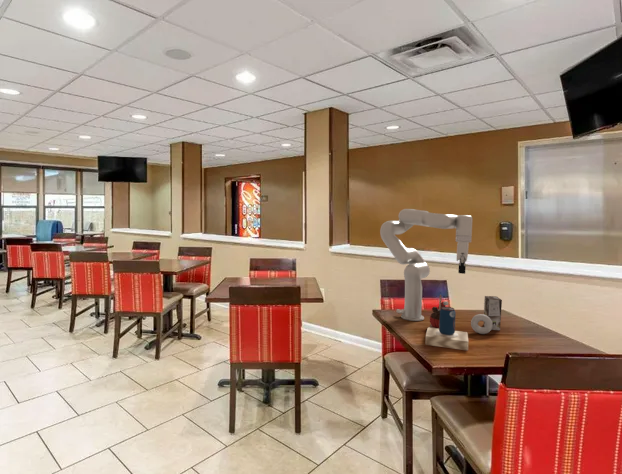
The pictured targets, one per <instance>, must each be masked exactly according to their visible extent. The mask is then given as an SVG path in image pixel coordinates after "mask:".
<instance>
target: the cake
mask: <svg viewBox="0 0 622 474" xmlns="http://www.w3.org/2000/svg"><path fill="white" fill-rule="evenodd" d="M438 302H439V303H438V304H439V305H438V307H437V306H432V308H431V311H432V313H431V314H430V317H429V323H430V325H429V328H437V329H439V319H440V310H441V307H446V306H448V305H449V302H448V301H442V294H439V300H438Z"/></svg>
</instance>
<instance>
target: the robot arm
mask: <svg viewBox="0 0 622 474" xmlns="http://www.w3.org/2000/svg"><path fill="white" fill-rule="evenodd" d="M414 226H421V227H428V228H434V229H435V228H436V229H442V230H447V229H455V242H456V243H457V244H456V245H457V246H456V261H457V262H458V274H464V275H465V274H466V267H467V266H466V262H467V261H468V254H469V247H470V245H469V243H472V236H473V235H472V234H473V217H472V215H470V214H469V215H468V214H458V215H457V214H449V213H447V214H445V213H437V212H436V213H434V212H429V211H427V210H420V209H414V208H403V209H401V210H400V211H399V213H398V220H387V221H385V222H384V223H382V224H381V226H380V230H379V233H380V238H381V240H382V241H383V243H384V244H385V246H386V248H387V249H389V251H390V254H392V256H393V257H394V259H395V260H396V262H397V263H398V264H399V265H403V266H404V265H406V267H405V268H404V271H403V277H404V278H403V279H404V305H403V306H404V307H403V308H402V309H398V308H396V313H397V314H401V316H400V317H401V319H403V320H406V321H412V322H420V321H423V320H425V317H424V315H422V307H423V305H422V304H423V301H422V300H423V284H422V279H425V278H427V277H429V275H430V272H431V271H430V267H429V265H428V263H427V262H426V260H425V259H424V257H423V256H422V255H421V253H419V251H418V250H417V249H415V248H413V247H406V245H404V244H403V243H404V242H402V240H401V239H400V238H399V237H398V236H396V235H402V234H404V233H405V232H407V231H408V230H410V229H411V228H413V227H414Z"/></svg>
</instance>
